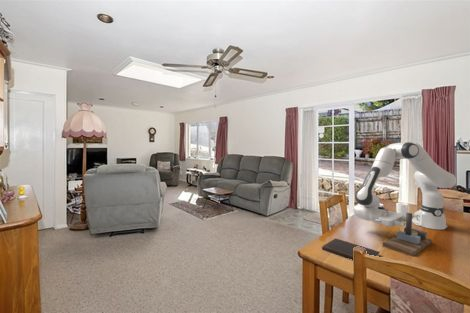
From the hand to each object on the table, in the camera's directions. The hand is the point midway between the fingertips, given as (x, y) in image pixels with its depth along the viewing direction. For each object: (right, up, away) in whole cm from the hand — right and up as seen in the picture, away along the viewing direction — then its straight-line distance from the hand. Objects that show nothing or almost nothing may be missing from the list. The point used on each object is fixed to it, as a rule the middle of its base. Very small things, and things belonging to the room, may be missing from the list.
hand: (407, 223), depth 131 cm
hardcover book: (-38, -13, -10) cm, 41 cm away
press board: (0, -12, 0) cm, 12 cm away
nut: (+5, -10, +3) cm, 12 cm away
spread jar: (+9, -10, +44) cm, 46 cm away
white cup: (+34, -10, +52) cm, 63 cm away
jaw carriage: (0, -10, 0) cm, 10 cm away
